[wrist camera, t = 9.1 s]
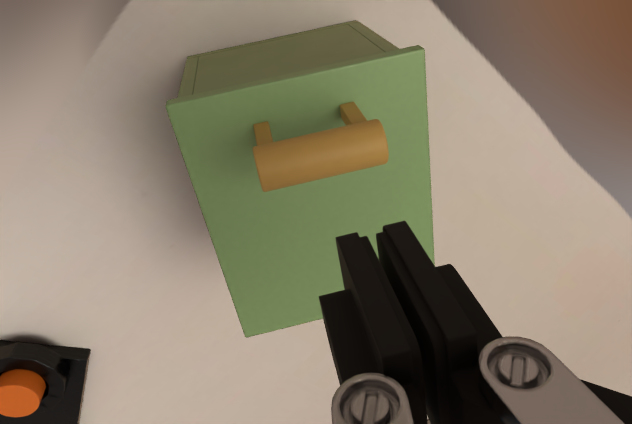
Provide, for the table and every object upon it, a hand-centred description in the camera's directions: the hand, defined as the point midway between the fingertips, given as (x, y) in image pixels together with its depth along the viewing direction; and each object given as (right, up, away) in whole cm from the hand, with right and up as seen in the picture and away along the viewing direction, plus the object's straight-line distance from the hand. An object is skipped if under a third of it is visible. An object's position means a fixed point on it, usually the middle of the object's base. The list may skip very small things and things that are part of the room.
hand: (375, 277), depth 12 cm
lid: (-1, +2, +14) cm, 14 cm away
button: (-25, -12, +28) cm, 40 cm away
